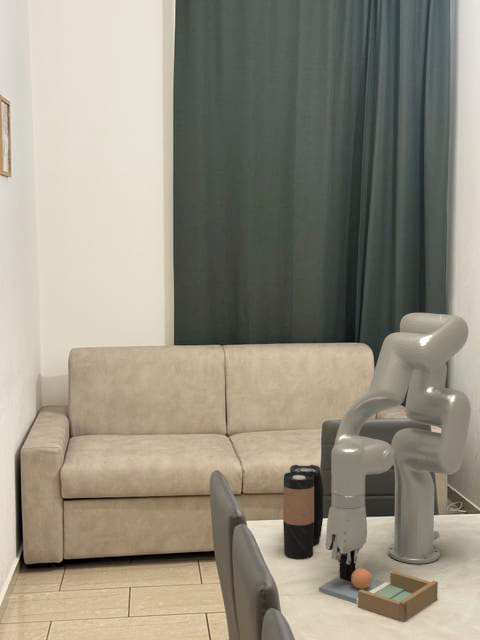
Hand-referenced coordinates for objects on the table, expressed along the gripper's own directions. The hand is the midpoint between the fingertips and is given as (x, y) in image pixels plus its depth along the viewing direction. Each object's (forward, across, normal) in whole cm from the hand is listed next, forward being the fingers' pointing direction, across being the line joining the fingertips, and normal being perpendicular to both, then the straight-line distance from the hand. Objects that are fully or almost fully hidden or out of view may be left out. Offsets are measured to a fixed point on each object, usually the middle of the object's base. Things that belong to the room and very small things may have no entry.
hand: (347, 578), depth 191 cm
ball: (-1, 0, +4) cm, 4 cm away
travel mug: (+2, -9, -21) cm, 22 cm away
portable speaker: (+2, -17, -25) cm, 30 cm away
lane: (+2, 0, +8) cm, 8 cm away
